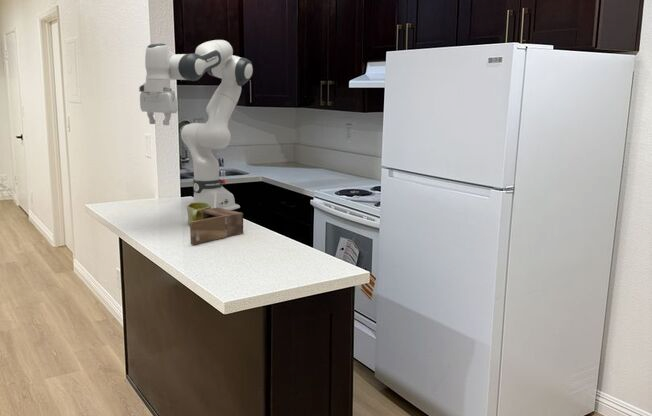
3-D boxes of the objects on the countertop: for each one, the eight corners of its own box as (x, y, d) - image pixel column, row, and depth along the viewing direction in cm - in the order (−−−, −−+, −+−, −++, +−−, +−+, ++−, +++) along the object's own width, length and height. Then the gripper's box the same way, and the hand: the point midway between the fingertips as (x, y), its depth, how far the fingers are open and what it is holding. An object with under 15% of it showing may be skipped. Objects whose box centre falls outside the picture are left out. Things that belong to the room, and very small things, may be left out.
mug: (190, 215, 246) (195, 195, 241) (213, 224, 244) (217, 204, 240) (176, 227, 235) (180, 206, 230) (199, 236, 234) (204, 215, 229)
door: (190, 243, 208) (189, 221, 206) (225, 236, 220) (224, 215, 218) (194, 245, 206) (194, 222, 205) (229, 237, 218) (229, 216, 216)
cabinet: (218, 227, 235) (217, 207, 233) (243, 233, 225) (243, 212, 224) (202, 230, 229) (201, 210, 227) (227, 237, 219) (226, 216, 218)
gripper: (181, 88, 218) (182, 125, 220) (150, 87, 231) (152, 123, 233) (166, 87, 213) (167, 126, 215) (136, 87, 226) (137, 123, 229)
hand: (159, 124), depth 225 cm, fingers open, 8 cm apart
